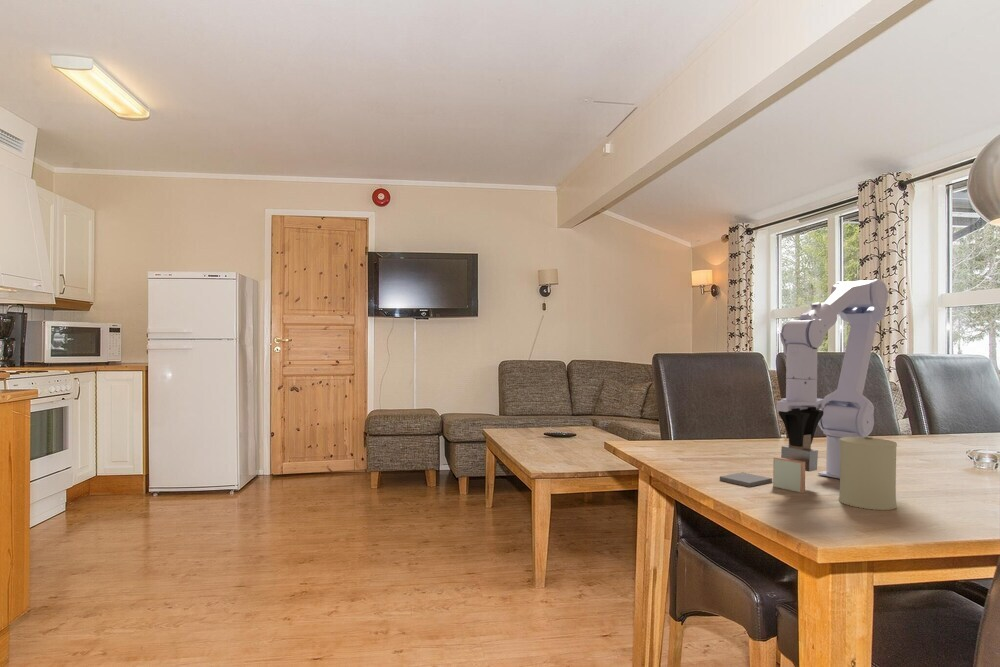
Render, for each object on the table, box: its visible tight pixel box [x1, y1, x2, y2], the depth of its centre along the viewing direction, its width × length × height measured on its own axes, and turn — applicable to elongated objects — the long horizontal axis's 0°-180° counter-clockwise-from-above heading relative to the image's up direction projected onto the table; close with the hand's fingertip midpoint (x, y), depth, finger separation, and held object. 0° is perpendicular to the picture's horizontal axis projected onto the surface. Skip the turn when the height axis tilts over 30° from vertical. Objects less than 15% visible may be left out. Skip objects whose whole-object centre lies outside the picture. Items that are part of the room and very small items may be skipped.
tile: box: [772, 456, 806, 494], centre depth 126 cm, size 1×6×6 cm, turn 35°
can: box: [838, 436, 898, 511], centre depth 116 cm, size 9×9×12 cm
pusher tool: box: [780, 433, 819, 472], centre depth 128 cm, size 3×6×7 cm, turn 35°
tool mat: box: [719, 471, 773, 488], centre depth 132 cm, size 8×7×1 cm
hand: (800, 445), depth 128 cm, fingers closed on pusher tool, 3 cm apart
